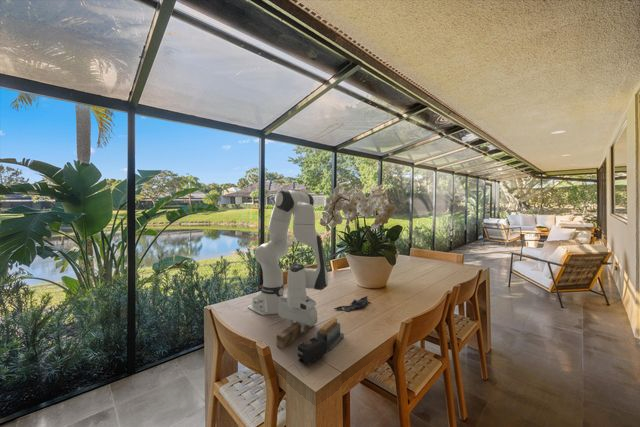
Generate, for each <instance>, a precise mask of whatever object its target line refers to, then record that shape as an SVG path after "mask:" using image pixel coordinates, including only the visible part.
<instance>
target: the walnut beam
mask: <svg viewBox="0 0 640 427" xmlns="http://www.w3.org/2000/svg"><path fill="white" fill-rule="evenodd" d="M293 323H294V324H292V325H291V326H290V325H289V326H288V327H287V328H285V329H283V330H282V331H280V332H279V333H277V334H276V347H278V348H280V349H285V348H286V347H287V346H289V345H291V343H293V342H294V341H296V340H297V339H298V338H300V337H301V336H302V335H303V334H304V333H306V332H307V331H309V330H310V329H312V327H313V326H309V325H305V326H304V331H303V332H300V331H299V328H300V327H301V326H302V325H301V323H299V322H296V321H294V322H293Z"/></svg>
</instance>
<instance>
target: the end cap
mask: <svg viewBox="0 0 640 427" xmlns="http://www.w3.org/2000/svg"><path fill="white" fill-rule="evenodd" d="M308 341H309V342H310V343H311V344H308V343H305V342H302V343H300V344H298V345H297V351H298V352H297V357H298V358H297V360H298V362H299V363H301V364H302V365H304V366H308V365H310V364H311V363H313V362H315V361H316V360H318V359H319V358H322V357H323V356H324V355H326V354H327V353H328V350H327V344H326V342H325V341H324V340H323V339H321V340H318V339H317V337H311V338H310V339H308Z"/></svg>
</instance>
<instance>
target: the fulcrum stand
mask: <svg viewBox="0 0 640 427" xmlns="http://www.w3.org/2000/svg"><path fill="white" fill-rule="evenodd" d="M344 336H345V333H343V332H341V323H340V322H338V318H337V317H332V318H331V319H329V321H327V322H326V323H325V324H324V325H322V326H321V327H320V328H319V330H318V331H317V332H316V339H318V340H321V339H323V340H324V341H325V342H326V344H327V351H332V349H334V347H335V346H337V345H338V343H339V342H340V341H342V339H344V338H345V337H344Z"/></svg>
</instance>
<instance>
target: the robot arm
mask: <svg viewBox="0 0 640 427" xmlns="http://www.w3.org/2000/svg"><path fill="white" fill-rule="evenodd" d="M314 202H315V201H314V197H313V196H312V195H311V194H310V193H307V192H303V191H299V190H290V189H289V190H288V189H280V190H278V191H277V192H276V194H275V196H274V206H273V207H272V208H273V209H272V211H271V214H270V218H269V223H268V227H267V231H268V233H269V241H268V242H264V243H262V244H260V245H259V246H258V247H256V248H255V251H254V257H255V260H256V262H257V263H259V265H260V267H261V270H262V281H263V283H262V284H261V285H260V286H259V289H260V291H258V292H257V293H256V294H255V295H254V296H252V300H251V301H252V302H251V303H250V304H248V306H247V308H248V309H249V310H251V311H253V312H256V313H257V314H259V315H261V316H266V315H274V314H278V317H280V318H282V319H285V320H288V323H289V326H291V325H292V324H294V323H295V322H299V323H301V325H302V326H301V327H300V328H299V331H300V332H303V331H304V326H305V325H309V326H312V327H314V326H315V325H316V324H317V323H318V310H317V308H316V306H317V302H316V300H314V299H313V298H311V297H309V296H308V295H307V289H312V290H318V291H323V290H324V289H325V288H327V286H328V285H329V281H330V280H329V273H328V270H327V264H326V258H325V250H324V249H325V248H324V244H323V240H322V239H323V238H322V237H321V236H320V235H319V234H318V232H317V231H316V214H315V209H314V208H315V207H314ZM292 216H293V221H292V233H293V236H294V238H295V239H296V240H297V241H299V242H300V243H302V244H304V245H306V246H308V247H310V248H311V249H312V250H313V251H314V255H315V261H316V262H315V263H316V268H309V267H305V265H303V264H299V263H295V264H292V265H290V266H288V270H287V278H286V279H287V280H286V286H287V294H286V295H287V296H286V297H285V296H284V289H285V288H284V287H285V286H284V276H283V275H284V271H283V269H282V268H281V266H280V264H279V260H280V259H282V258H284V257H285V256H286V255H288V253H289V251H290V247H289V246H290V245H289V244H288V232H289V228H290V224H291V220H292Z"/></svg>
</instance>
